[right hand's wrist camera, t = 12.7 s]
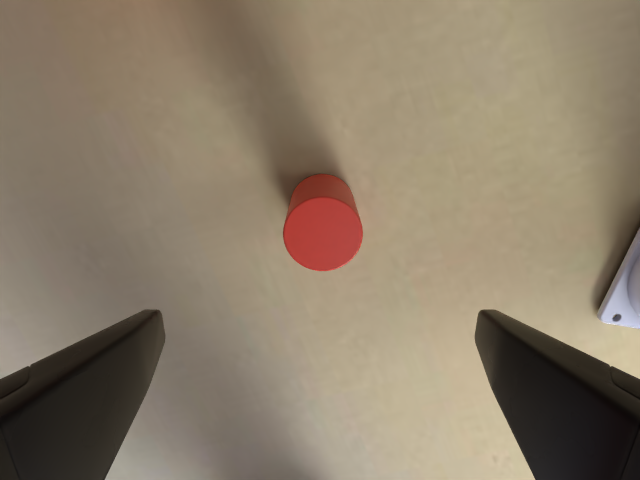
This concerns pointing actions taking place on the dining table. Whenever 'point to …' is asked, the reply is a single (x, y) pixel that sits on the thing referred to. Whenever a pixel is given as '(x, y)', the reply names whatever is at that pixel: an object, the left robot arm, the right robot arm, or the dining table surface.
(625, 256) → the left robot arm
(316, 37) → the dining table surface
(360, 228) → the can
